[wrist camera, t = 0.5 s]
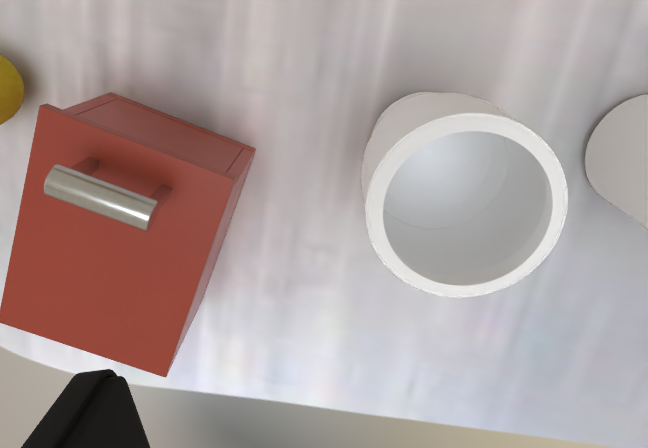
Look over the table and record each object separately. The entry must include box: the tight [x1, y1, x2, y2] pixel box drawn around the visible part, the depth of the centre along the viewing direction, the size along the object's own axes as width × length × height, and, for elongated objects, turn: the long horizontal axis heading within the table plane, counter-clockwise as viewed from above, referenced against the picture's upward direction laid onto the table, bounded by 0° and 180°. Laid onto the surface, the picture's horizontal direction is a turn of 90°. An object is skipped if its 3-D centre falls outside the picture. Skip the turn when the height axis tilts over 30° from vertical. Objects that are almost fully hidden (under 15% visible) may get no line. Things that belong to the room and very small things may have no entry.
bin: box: [63, 93, 256, 368], centre depth 40 cm, size 15×12×10 cm
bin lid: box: [0, 104, 237, 377], centre depth 32 cm, size 16×12×6 cm
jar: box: [361, 92, 568, 297], centre depth 35 cm, size 11×10×15 cm
